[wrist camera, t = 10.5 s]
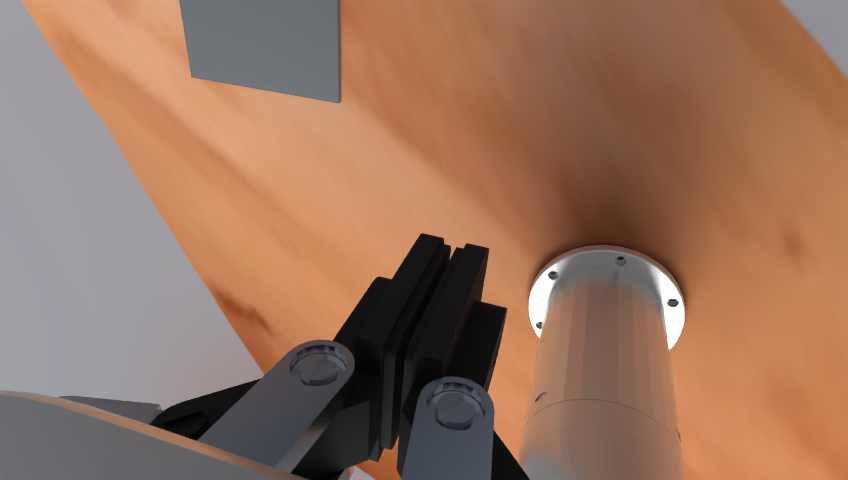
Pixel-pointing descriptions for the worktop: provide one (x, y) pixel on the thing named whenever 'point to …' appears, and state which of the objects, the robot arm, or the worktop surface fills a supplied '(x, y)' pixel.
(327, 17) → the mat
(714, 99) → the worktop surface
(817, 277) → the worktop surface
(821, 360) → the worktop surface
